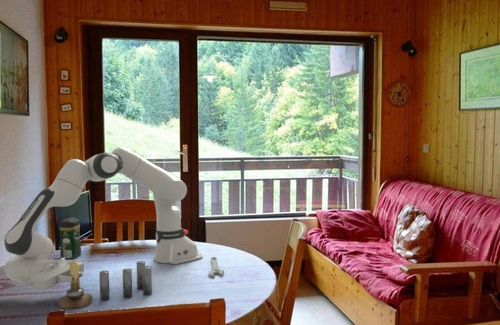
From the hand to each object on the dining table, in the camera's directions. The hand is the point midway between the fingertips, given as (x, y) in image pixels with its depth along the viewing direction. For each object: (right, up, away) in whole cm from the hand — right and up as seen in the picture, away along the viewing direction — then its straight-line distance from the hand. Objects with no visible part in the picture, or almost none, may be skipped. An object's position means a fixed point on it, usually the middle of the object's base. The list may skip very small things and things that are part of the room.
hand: (76, 276), depth 152 cm
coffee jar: (-25, -5, +56) cm, 61 cm away
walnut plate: (-1, -9, +1) cm, 9 cm away
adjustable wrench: (+46, -7, +39) cm, 60 cm away
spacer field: (+16, -9, +9) cm, 20 cm away
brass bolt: (-1, -7, +1) cm, 7 cm away
